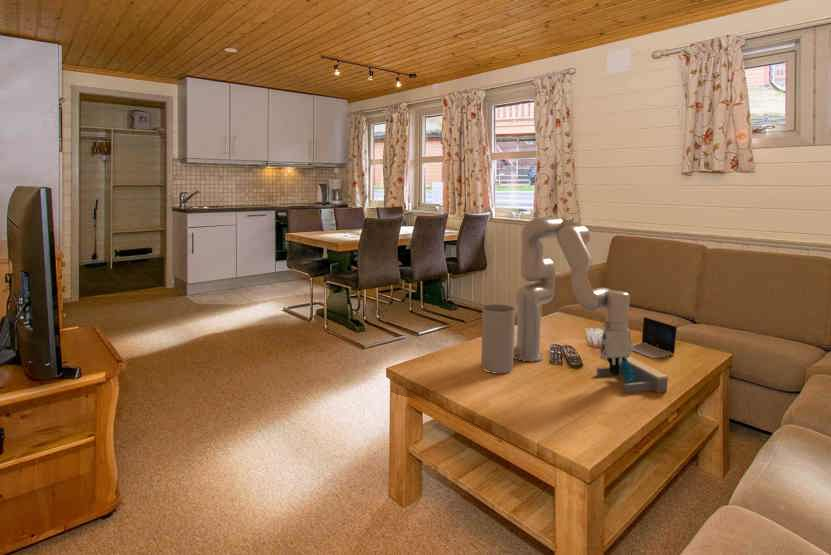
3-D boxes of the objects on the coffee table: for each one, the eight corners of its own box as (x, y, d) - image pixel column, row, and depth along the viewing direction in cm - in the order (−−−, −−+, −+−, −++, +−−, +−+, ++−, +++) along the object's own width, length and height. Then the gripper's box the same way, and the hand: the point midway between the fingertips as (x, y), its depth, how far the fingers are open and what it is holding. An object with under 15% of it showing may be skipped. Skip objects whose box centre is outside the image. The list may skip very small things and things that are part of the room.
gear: (638, 384, 183) (630, 357, 183) (623, 388, 182) (615, 361, 183) (624, 380, 194) (617, 354, 194) (609, 384, 193) (602, 358, 194)
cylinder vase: (475, 366, 207) (476, 306, 202) (501, 362, 211) (503, 303, 207) (491, 376, 195) (493, 313, 191) (519, 372, 200) (521, 310, 196)
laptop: (620, 347, 231) (622, 319, 229) (642, 344, 236) (644, 316, 233) (652, 359, 215) (654, 329, 212) (674, 355, 219) (677, 326, 217)
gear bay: (629, 395, 177) (630, 379, 176) (593, 373, 199) (594, 358, 198) (667, 391, 181) (668, 376, 180) (627, 369, 202) (628, 355, 201)
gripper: (604, 329, 179) (601, 379, 182) (641, 326, 182) (638, 375, 185) (592, 324, 186) (590, 372, 189) (629, 321, 189) (626, 369, 192)
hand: (614, 373), depth 187 cm, fingers closed
